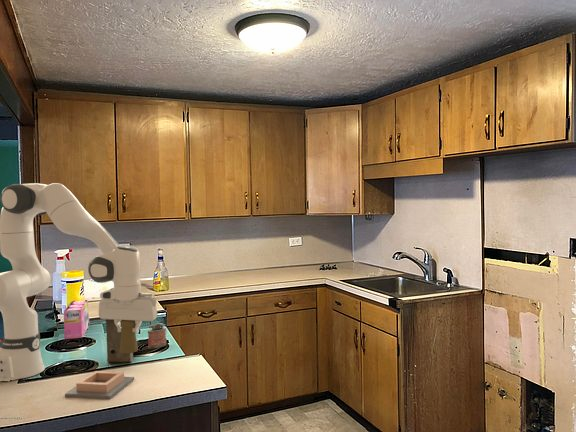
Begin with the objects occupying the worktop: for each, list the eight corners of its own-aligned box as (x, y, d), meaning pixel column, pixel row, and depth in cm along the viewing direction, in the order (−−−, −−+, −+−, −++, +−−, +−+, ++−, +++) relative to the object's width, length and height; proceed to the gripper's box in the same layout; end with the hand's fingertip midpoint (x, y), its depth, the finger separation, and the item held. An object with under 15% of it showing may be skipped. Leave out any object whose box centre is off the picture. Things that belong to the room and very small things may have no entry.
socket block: (65, 396, 153) (64, 386, 153) (93, 377, 168) (93, 368, 168) (110, 399, 150) (109, 388, 150) (134, 379, 166) (134, 370, 166)
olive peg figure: (141, 349, 163) (141, 318, 162) (127, 354, 158) (126, 322, 157) (130, 346, 166) (129, 315, 165) (115, 351, 161) (115, 319, 160)
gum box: (73, 326, 241) (72, 300, 240) (90, 324, 243) (88, 299, 242) (64, 339, 218) (62, 310, 217) (82, 337, 220) (81, 309, 219)
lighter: (164, 343, 207) (163, 321, 207) (167, 345, 205) (167, 322, 204) (147, 347, 202) (146, 324, 202) (150, 349, 200) (149, 326, 199)
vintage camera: (142, 352, 198) (140, 305, 198) (131, 363, 182) (129, 312, 182) (119, 353, 198) (117, 306, 198) (106, 364, 182) (104, 313, 182)
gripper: (160, 291, 162) (160, 331, 163) (105, 289, 166) (106, 328, 166) (151, 295, 156) (152, 336, 157) (95, 293, 159) (96, 333, 160)
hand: (128, 332), depth 161 cm, fingers closed on olive peg figure, 4 cm apart
